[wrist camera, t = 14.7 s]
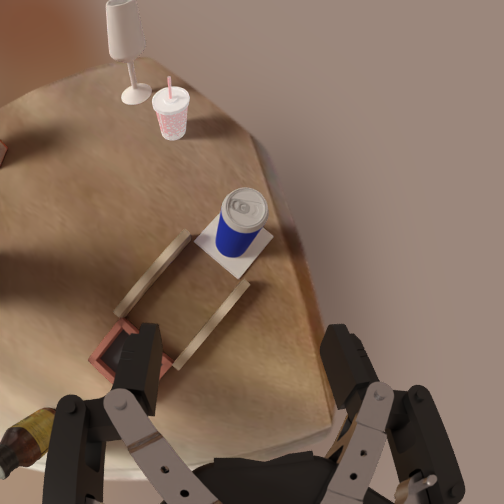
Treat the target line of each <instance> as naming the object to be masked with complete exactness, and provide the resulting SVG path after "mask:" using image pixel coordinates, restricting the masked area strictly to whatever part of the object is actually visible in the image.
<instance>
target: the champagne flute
mask: <svg viewBox="0 0 504 504" xmlns="http://www.w3.org/2000/svg"><path fill="white" fill-rule="evenodd" d="M106 15H107V16H106V17H107V30H108V43H109V53H110V56H111V57H112V58H113V59H115V60H116V61H119V62H124V63H127V65H128V70H129V75H130V79H131V84H132V86H130V87H128V88H127V89H126V90H125V91H124V92H123V93H122V96H121V99H122V101H123V102H124V103H126V104H129V105H135V104H139V103H142V102H144V101H145V100H147V99H148V98H149V97H150V95H151V93H152V89H151V87H150V86H149V85H147V84H143V83H139V84H137V79H136V74H135V69H134V63H133V61H134V60H135V59H137V58H138V57H139V56H140V55H141V54H142V52H143V51H144V49H145V47H146V41H145V37H144V33H143V28H142V24H141V20H140V15H139V10H138V6H137V1H136V0H109V1H108V2H107V3H106Z"/></svg>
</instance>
